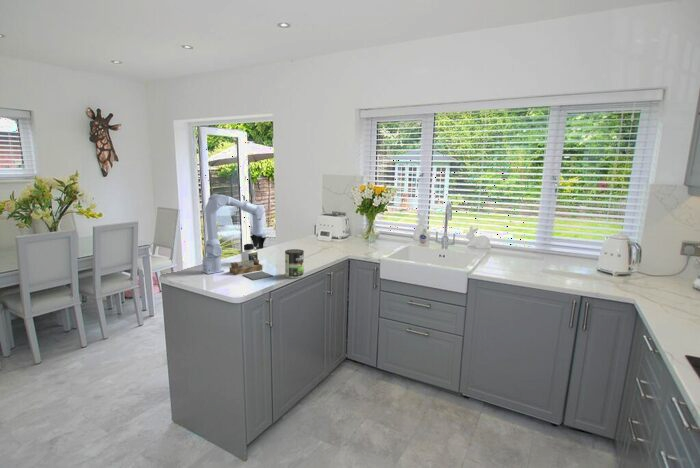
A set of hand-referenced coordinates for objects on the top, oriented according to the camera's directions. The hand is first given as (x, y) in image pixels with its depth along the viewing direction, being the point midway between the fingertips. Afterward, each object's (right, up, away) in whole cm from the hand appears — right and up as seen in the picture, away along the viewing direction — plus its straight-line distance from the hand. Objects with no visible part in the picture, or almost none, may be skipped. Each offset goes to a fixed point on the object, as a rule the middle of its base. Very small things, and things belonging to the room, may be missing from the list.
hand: (258, 247), depth 230 cm
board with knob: (-3, -13, -16) cm, 21 cm away
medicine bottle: (-6, -10, +3) cm, 12 cm away
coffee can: (+26, -15, -23) cm, 38 cm away
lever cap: (-3, -10, -16) cm, 19 cm away
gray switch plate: (+6, -15, -25) cm, 30 cm away
